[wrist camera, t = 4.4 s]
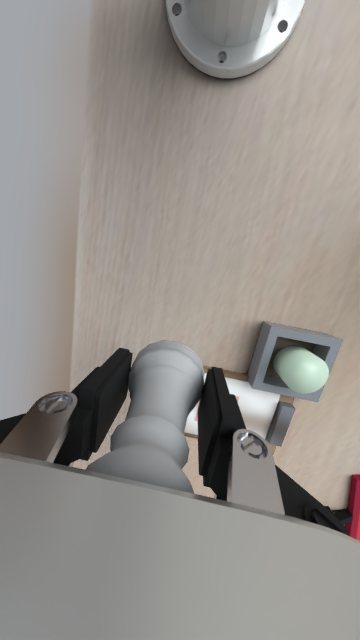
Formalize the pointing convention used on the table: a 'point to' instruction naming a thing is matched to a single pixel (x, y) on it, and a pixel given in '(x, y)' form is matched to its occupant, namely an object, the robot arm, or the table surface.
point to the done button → (300, 369)
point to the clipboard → (253, 410)
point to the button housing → (323, 348)
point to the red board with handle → (351, 510)
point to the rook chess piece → (156, 418)
